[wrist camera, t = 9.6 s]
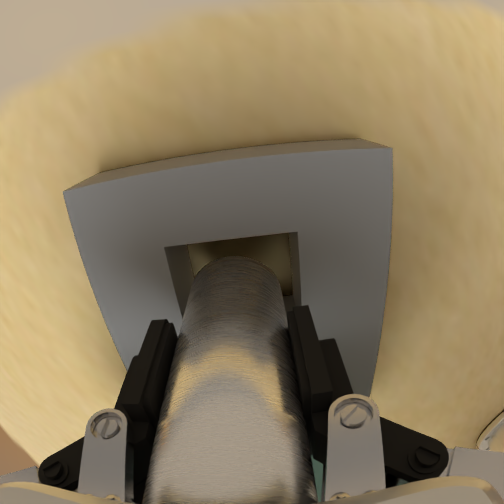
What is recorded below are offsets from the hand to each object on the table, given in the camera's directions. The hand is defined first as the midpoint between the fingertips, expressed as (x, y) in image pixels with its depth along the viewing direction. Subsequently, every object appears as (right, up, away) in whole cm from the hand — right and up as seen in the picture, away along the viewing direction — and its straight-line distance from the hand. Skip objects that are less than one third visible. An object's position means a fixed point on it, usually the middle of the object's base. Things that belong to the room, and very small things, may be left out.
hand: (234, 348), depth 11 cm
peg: (0, +1, +3) cm, 3 cm away
